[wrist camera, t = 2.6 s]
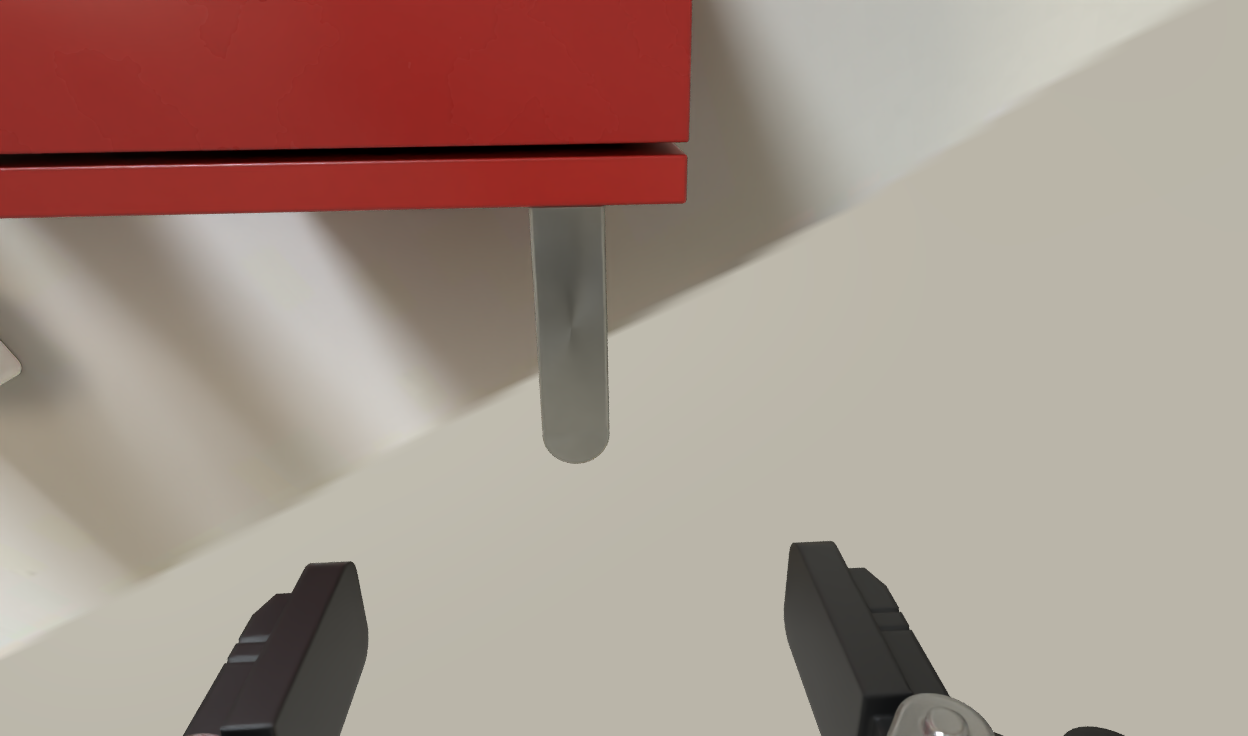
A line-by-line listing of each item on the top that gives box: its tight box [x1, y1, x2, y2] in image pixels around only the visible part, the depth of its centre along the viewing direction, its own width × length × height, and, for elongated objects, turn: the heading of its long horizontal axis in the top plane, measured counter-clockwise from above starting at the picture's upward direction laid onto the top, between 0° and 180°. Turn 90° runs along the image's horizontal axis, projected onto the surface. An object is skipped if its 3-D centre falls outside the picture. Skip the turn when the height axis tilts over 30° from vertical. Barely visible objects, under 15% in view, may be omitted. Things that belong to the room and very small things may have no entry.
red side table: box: [0, 142, 687, 464], centre depth 26 cm, size 7×18×22 cm, turn 91°
